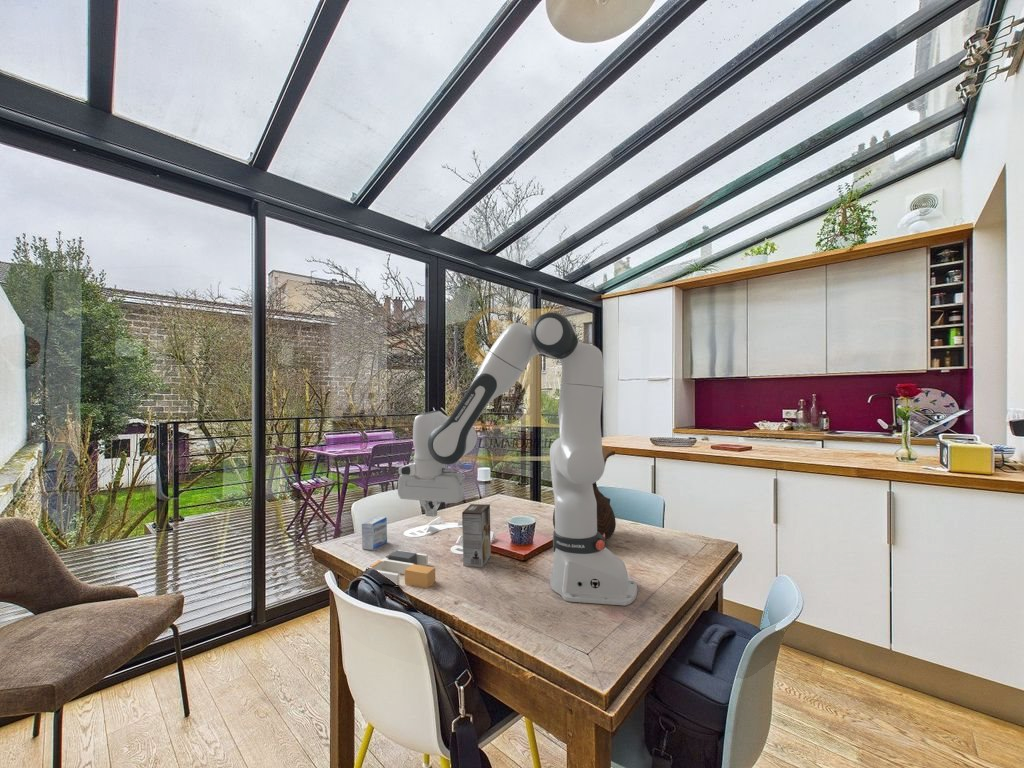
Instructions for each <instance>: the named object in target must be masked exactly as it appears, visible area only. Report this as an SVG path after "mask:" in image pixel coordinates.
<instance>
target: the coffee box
mask: <svg viewBox="0 0 1024 768" xmlns="http://www.w3.org/2000/svg"><path fill="white" fill-rule="evenodd" d="M490 507H491V505H490V504H482V503H481V504H480V503H470V504H469V505H468V506H467V508H465V509H464V510H463V511H462V513H461V520H462V526H463V527H462V536H463V550H462V552H463V555H462V563H463V565H462V566H463V567H476V568H483V567H484V566H485V565H486V564H487V561H488V560H489V558H490V557H491V555H492V549H491V547H492V546H491V545H492V544H491V540H490V531H491V508H490Z"/></svg>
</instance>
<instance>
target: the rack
mask: <svg viewBox="0 0 1024 768" xmlns="http://www.w3.org/2000/svg"><path fill="white" fill-rule="evenodd" d="M398 551H401V550H399V549H398ZM404 551H405V552H408V551H406V550H404ZM393 552H394V551H393ZM393 552H391V553H390V554H392V553H393ZM410 552H411V553H415V552H413V551H410ZM416 553H417V565H422V566H428V565H429V563H428V562H429V560H428V556H429V555H428V554H426V553H419V552H416ZM390 554H388V555H386V556H385V557H384V558H383V559H380V560H378V561H376V562H374V563H373V564H370V565H369V567H367V568H366V569H368V568H373V569H376V570H377V571H378V572H380V573H381V574H383V575H384V576H385V577H387V578H388V579H390V580H391V581H393V582H394V583H395V584H396V585H399V586H400V574H401V575H405V569H407V568H408V567H410V566H411V565H413V563H407V562H401V561H394V560H389V555H390ZM366 569H364V572H365V571H366Z"/></svg>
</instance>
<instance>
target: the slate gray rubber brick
mask: <svg viewBox="0 0 1024 768" xmlns="http://www.w3.org/2000/svg"><path fill="white" fill-rule="evenodd" d="M398 550H399V549H398ZM398 550H395V551H393V553H392V552H391V553H392V554H391V553H390V555H389V554H388V555H389V560H394V561H401V562H407V563H413V564H416V565H417V553H418V552H414V553H411V552H412V551H407V552H405V551H406V550H400V551H398Z"/></svg>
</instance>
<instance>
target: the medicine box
mask: <svg viewBox="0 0 1024 768" xmlns="http://www.w3.org/2000/svg"><path fill="white" fill-rule="evenodd" d="M387 519H388V518H387V517H386V516H375V517H373V518H371V519H368V520H366V521H365V522H362V523H361V546H362V547H361V548H362V550H367V551H368V550H369V551H374V550H376V549H378V548H380V547H381V546H383V545H385V544H386V543H387V542H388V522H387V521H388V520H387Z"/></svg>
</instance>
